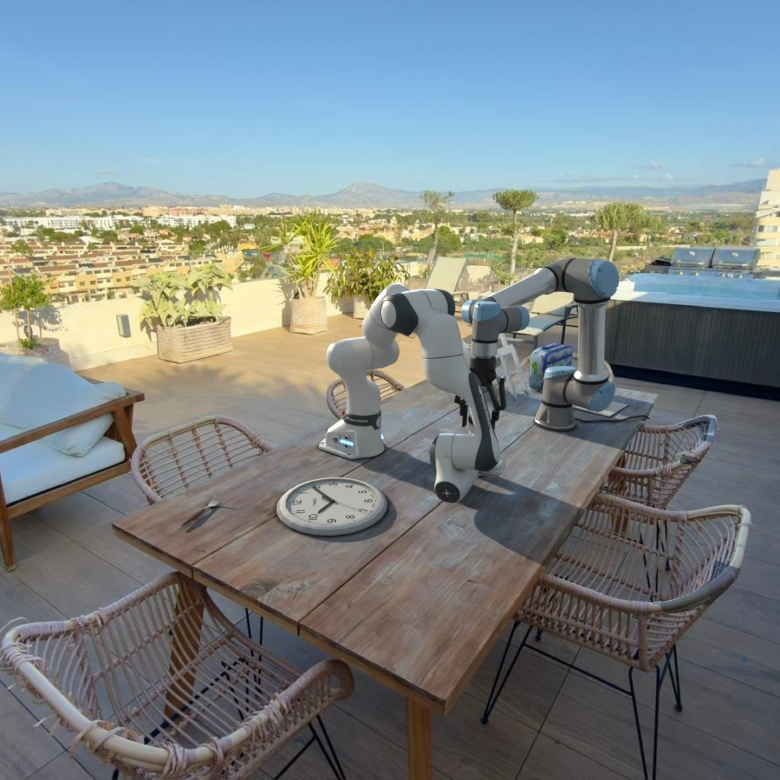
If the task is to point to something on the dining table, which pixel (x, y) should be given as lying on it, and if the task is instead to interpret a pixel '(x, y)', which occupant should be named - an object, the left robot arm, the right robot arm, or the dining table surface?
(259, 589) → the dining table surface
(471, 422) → the lid
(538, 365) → the lunch box
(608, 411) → the invitation card
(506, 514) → the dining table surface
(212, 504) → the fork
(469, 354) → the white plastic object
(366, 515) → the wall clock
